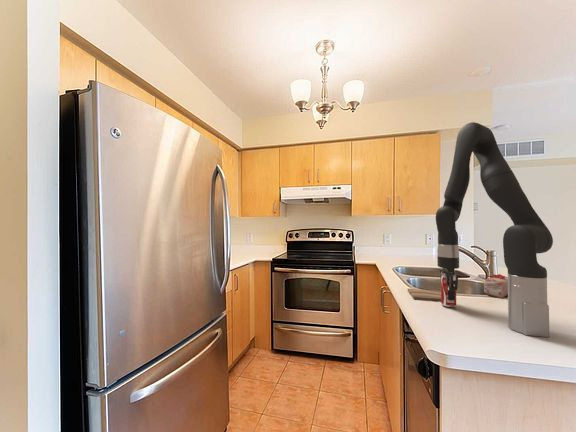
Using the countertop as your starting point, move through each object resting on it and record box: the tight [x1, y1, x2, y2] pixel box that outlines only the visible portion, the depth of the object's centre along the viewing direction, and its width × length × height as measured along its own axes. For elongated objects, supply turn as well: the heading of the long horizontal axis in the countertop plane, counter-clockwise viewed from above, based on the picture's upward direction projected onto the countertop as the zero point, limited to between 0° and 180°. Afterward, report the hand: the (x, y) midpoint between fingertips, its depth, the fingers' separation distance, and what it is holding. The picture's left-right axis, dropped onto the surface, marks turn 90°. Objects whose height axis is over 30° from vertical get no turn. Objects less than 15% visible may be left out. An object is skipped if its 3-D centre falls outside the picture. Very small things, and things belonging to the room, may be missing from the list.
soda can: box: [440, 275, 457, 308], centre depth 106 cm, size 5×5×12 cm
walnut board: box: [407, 288, 441, 302], centre depth 121 cm, size 15×15×1 cm
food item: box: [483, 273, 508, 299], centre depth 123 cm, size 14×8×10 cm, turn 126°
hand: (448, 297), depth 106 cm, fingers closed on soda can, 5 cm apart
